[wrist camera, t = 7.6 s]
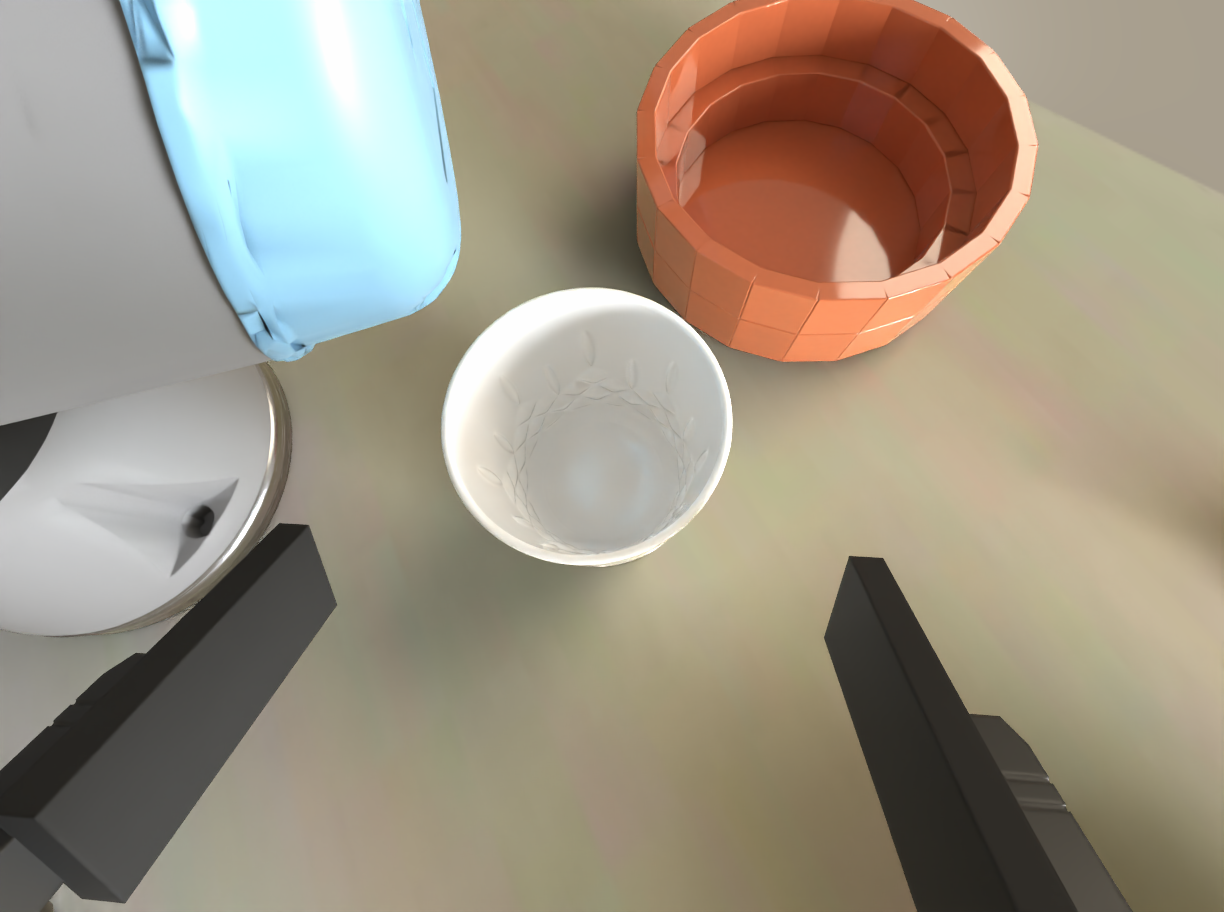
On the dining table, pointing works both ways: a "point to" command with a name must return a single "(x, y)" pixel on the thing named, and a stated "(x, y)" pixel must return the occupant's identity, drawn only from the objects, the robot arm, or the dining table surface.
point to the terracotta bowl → (825, 171)
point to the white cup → (586, 426)
